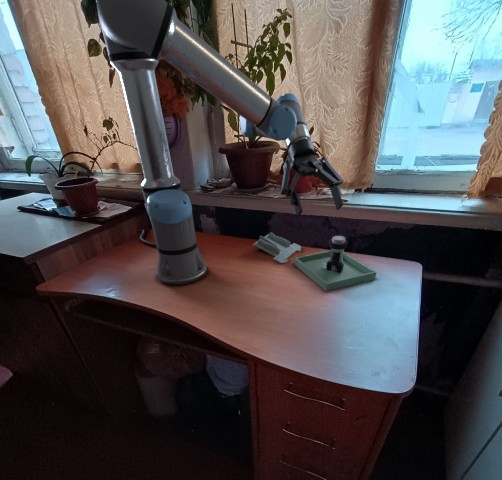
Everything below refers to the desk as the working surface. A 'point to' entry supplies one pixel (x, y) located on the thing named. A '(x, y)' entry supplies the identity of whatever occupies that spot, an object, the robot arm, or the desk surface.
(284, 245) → the metal bracket
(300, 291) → the desk surface
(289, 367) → the desk surface
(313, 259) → the tray
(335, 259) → the push button
